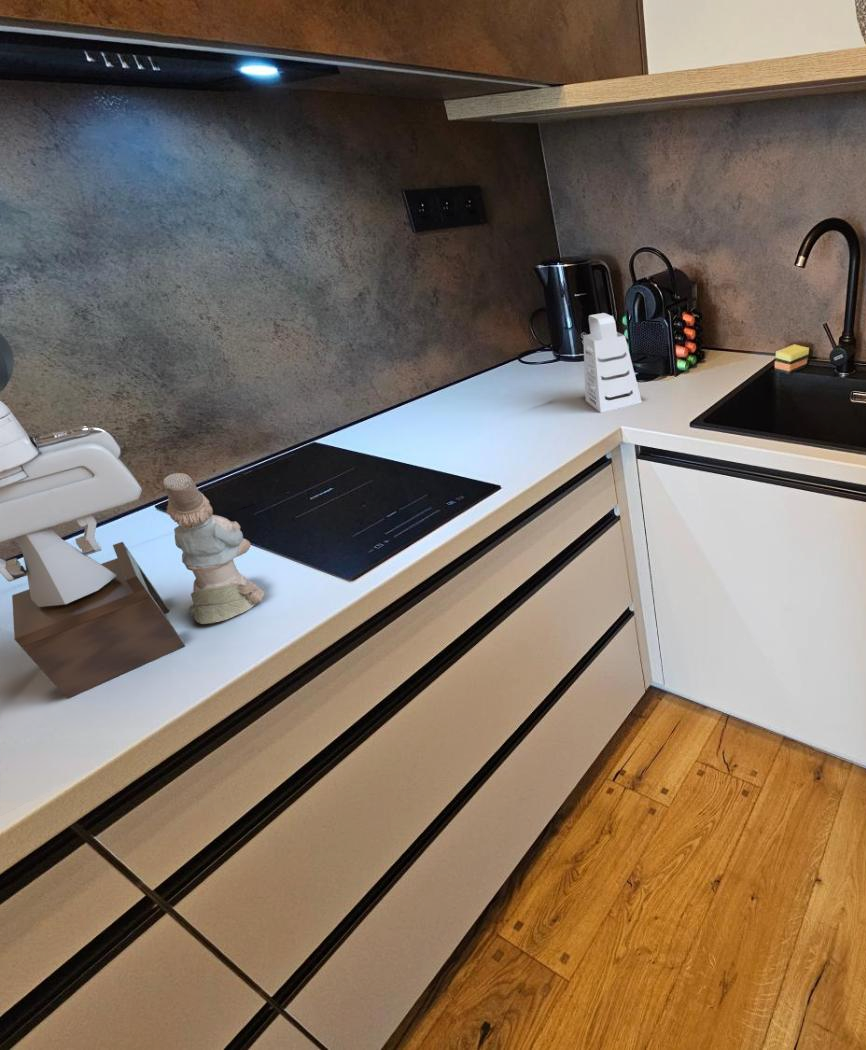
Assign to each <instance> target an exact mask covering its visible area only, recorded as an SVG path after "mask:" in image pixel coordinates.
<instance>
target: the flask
mask: <svg viewBox="0 0 866 1050" xmlns="http://www.w3.org/2000/svg"><path fill="white" fill-rule="evenodd" d="M15 539H16V542H17V543H18V545H19V548H20V550H21V552H22V557H23V563H24V566H25V567H24V568H25V569H26V571H27V582H28V583H27V584H28V589H29V590H30V595H31V600H32V601H33V602H34V603H35V604H36V605H37V606H38V607H43V606H54V605H64V604H68V603H70V602H72V601H74V600H77V599H79V598H81V597H84V596H86V595H88V594H91V593H93V592H95V591H98V590H99V589H100V588H102V587H103V586H104V585H106V584H107V583H108V582H110V581H111V580H112V579H113V578H115V577H116V576H117V575H115V574H114V573H113V572H111V571H110V570H109V569H107V568H106V567H104V566H103V565H101V564H102V563H100V562H98V561H97V560H95V559H94V558H92V557H90V556H89V555H84V554H83V552H82V551H81V550H79V548H76V547H74V546H73V545H72V544H71V543H68V542H67V541H65V539H62V537H60V536H59V535H58V534H57V533H56V532H55V531H54V530H52V528H51V527H49V528H45V529H42V530H39V531H36V532H33V533H29V534H26V535H23V536H20V537H16V538H15Z"/></svg>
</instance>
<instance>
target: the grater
mask: <svg viewBox="0 0 866 1050" xmlns="http://www.w3.org/2000/svg"><path fill="white" fill-rule="evenodd" d="M587 320H588V325H589V332H590V333H589V334H583V336H582V338H583V342H582V343H583V365H584V366H583V367H584V390H585V391H584V392H585V393H584V394H585V401H586V402H587V403H588V404H589V405H590V406H591V407H593V408H594V409H595V410H596V411H598V412H599V413H600V414H601V413H602V414H603V413H605V412H610V411H615V410H618V409H623V408H626V407H627V408H628V407H630V406H635V405H639V404H643V401H642V397H641V393H640V389H639V385H638V381H637V378H636V374H635V370H634V367H633V362H632V358H631V354H630V351H629V347H628V343H627V339H626V335H625V334H623V333H620V332H618V331H617V325H616V324H617V323H616V320H615V317H614V316H612V315H610V314H608V313H606V312H601V313H596V314H590V315H588V319H587ZM625 394H628V396H624V397H619V398H614V399H611V400H610V398H613V397H618V396H623V395H625ZM606 398H609V399H606Z"/></svg>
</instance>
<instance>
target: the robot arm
mask: <svg viewBox="0 0 866 1050" xmlns="http://www.w3.org/2000/svg"><path fill="white" fill-rule="evenodd" d="M14 366H15V356H14V351H13V348H12V347H11V345H10V343H9V342H8V340H7V339H6V337H5V336H4V335H3V334H2V333H1V332H0V393H1V392H2V391H3V390H5V388H6V387H7V386H8V384H9V382H10V380H11V378H12V375H13V374H14V373H13V372H14ZM91 432H93V433H91ZM121 456H122V449H121V446H120V445H119V443H118V441H117V440H116V438H115V437H114V436H113V434H112V433H111V432H110V431H108V430H105V429H104V428H99V427H88V426H87V425H79V426H78V425H77V426H74V427H70V429H66V430H60V431H54V432H49V433H44V434H40V435H35V436H29V434H28V433H27V431H26V429H24V428H23V426H22V425H21V423H20V422H19V420H18V419H17V417H16V416H15V415H14V414H13V412H12V410H11V409H10V408H9V407H8V405H6V403H4V402H3V401H2V400H0V543H4V542H8V541H9V540H13V539H16V537H20V536H23V535H26V534H29V533H33V532H36V531H39V530H42V529H45V528H52V527H56V526H58V525H61V524H65V523H68V522H71V521H76V523H77V524H78V526H79V527H84V530H83V531H84V532H83V536H79V537H77V538H75V539H74V540H75V544H76V546H77V547H78V549H80V550H81V552H82V553H83V554H84V555H87V556H89V555H92V554H95V553H98V552H101V551H102V547H101V545H100V543H99V542H98V540H97V539H96V538H95V536H96V530H97V519H96V516H95V515H94V514H97V513H101V512H103V511H107V510H110V509H113V508H117V507H119V506H123V505H127V504H129V503H132V502H136V501H138V500H139V499H140V497H141V495H142V492H143V488H142V487H141V485H140V483H139V482H138V480H137V479H136V478H135V476H134V475H133V474H132V472H131V471H130V470H129V468H128V467H127V466H126V464H125V463H124V462H123V461H122V459H120V457H121ZM0 574H1V575H2V576H3V577H4V579H5V581H8V582H9V583H10V582H13V581H16V580H19V579H21V578H25V577H26V576H27V571H26V567H24V565H21V561H20V560H19V559H18V558H17V557H15V558H12V559H8V560H5V559H2V558H0Z"/></svg>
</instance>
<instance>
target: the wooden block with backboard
mask: <svg viewBox="0 0 866 1050" xmlns="http://www.w3.org/2000/svg"><path fill="white" fill-rule="evenodd" d="M112 548H113V550H114V553H115V555H116V558H114V559H113V558H112V559H110V560H108V561H105V562H103V563H100V564H101V565H103V566H104V567H106V568H107V569H109V570H110V571H111V572H113V573H114V574H115V575H117V576H116V577H115V578H113V579H112V580H111V581H110V582H108V583H107V584H106V585H104V586H103V587H102V588H100V589H99V590H98V591H95V592H93V593H91V594H88V595H86V596H84V597H81V598H79V599H77V600H74V601H72V602H70V603H68V604H64V605H54V606H43V607H38V606H37V605H36V604H35V603H34V602H33V601H32V600H31V595H30V590H29V588H28V589H25V590H23V591H20V592H17V593H15V594H12V595H11V599H12V600H11V601H12V618H13V621H12V622H13V632H14V633H13V637H14V641H15V642H16V643H17V644H18V645H19V646H20V647H21V648H22V650H23V651H24V652H25V653H26V655H28V657H29V658H30V659H31V660H32V661H33V662H34V663H35V664H36V666H37V667H38V668H39V669H40V670H41V671H42V673H44V674H45V676H46V677H47V678H48V679H49V680H50V681H51V682H52V683H53V684H54V685H55V687H56V688H57V689H58V690H59V691H60V693H62V694H63V696H64V697H65V698H66V699H68V700H69V699H71V698H73V697H75V696H77V695H80V694H82V693H84V692H86V691H89V690H90V689H93V688H95V687H98V686H100V685H102V684H105V683H106V682H108V681H111V680H113V679H116V678H118V677H120V676H122V675H124V674H127V673H129V672H131V671H134V670H135V669H139V668H140V667H142V666H145V665H147V664H149V663H151V662H153V661H155V660H157V659H158V660H159V659H160V658H162V657H164V656H167V655H169V654H171V653H173V652H176V651H178V650H180V649H183V648H185V647H186V644H185V641H183V639H182V637H181V636H180V635H179V633H178V632H177V630H176V628H175V627H174V626H173V624H172V623H171V621H170V620H169V619H168V617H167V615H165V614H166V613H168V612H170V608H169V607H168V606H167V604H166V602H165V600H163V598H162V596H161V595H160V594H159V593H158V591H157V589H156V588H155V586H154V585H153V583H152V582H151V581H150V580H149V578H148V576H147V575H146V573H145V572H144V571H143V569H142V567H141V566H140V564H139V563H138V561H136V559H135V557H134V556H133V554H132V553H131V552H130V550H129V549H128V547H127V546H126V544H125V543H124V541H121V542H117V543H115V544H112Z"/></svg>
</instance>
